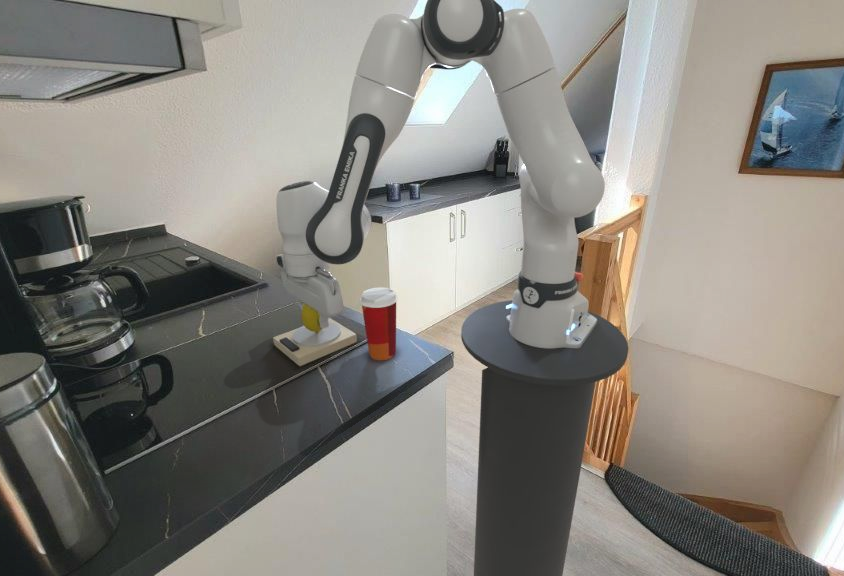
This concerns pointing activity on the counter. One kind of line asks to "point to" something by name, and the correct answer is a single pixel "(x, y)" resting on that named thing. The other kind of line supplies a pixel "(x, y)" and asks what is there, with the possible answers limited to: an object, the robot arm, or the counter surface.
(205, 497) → the counter surface
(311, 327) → the lemon
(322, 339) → the scale
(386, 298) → the paper cup
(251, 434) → the counter surface
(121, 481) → the counter surface
